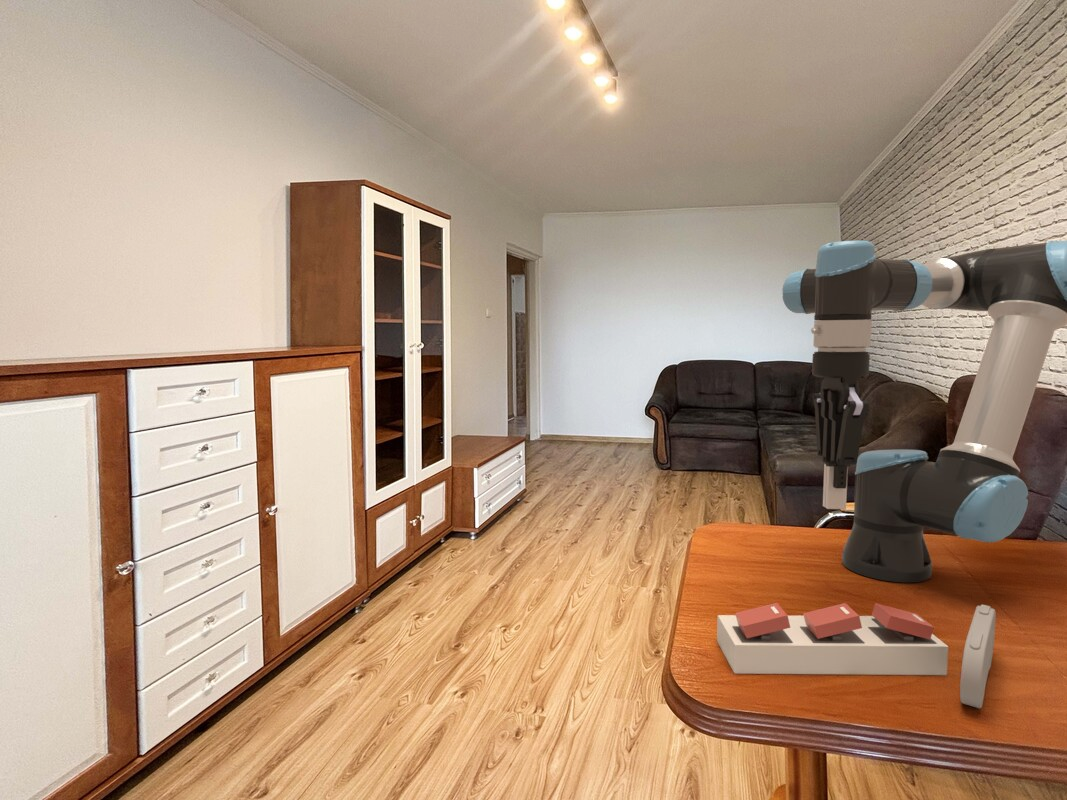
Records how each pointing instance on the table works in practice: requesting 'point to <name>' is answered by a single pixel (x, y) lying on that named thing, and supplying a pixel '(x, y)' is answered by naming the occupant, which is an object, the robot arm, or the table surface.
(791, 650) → the rocker switch panel
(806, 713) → the table surface
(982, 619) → the grey rounded slab
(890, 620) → the block
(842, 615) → the block
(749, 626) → the rocker
